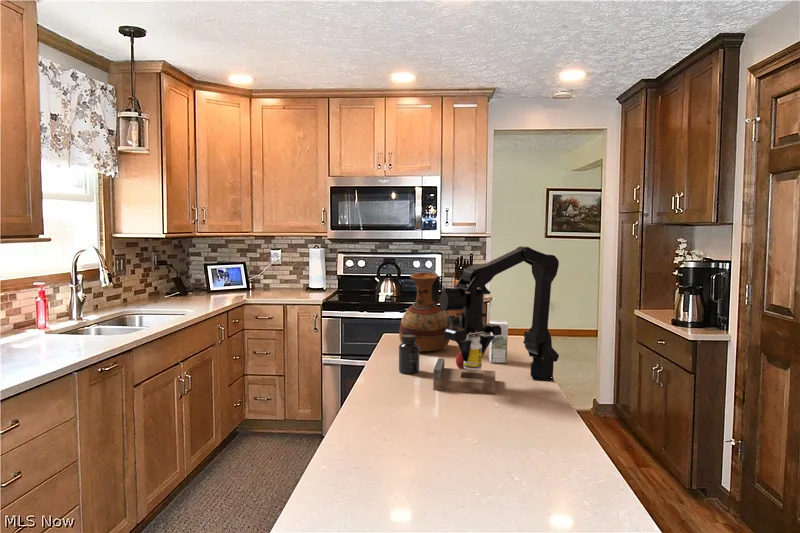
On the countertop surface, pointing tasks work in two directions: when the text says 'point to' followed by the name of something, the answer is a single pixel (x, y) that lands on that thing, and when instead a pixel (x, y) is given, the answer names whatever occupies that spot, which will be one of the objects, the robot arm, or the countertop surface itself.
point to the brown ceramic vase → (425, 314)
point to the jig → (463, 379)
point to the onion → (460, 361)
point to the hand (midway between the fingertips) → (472, 360)
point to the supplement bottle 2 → (474, 354)
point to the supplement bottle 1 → (409, 355)
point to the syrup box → (499, 344)
